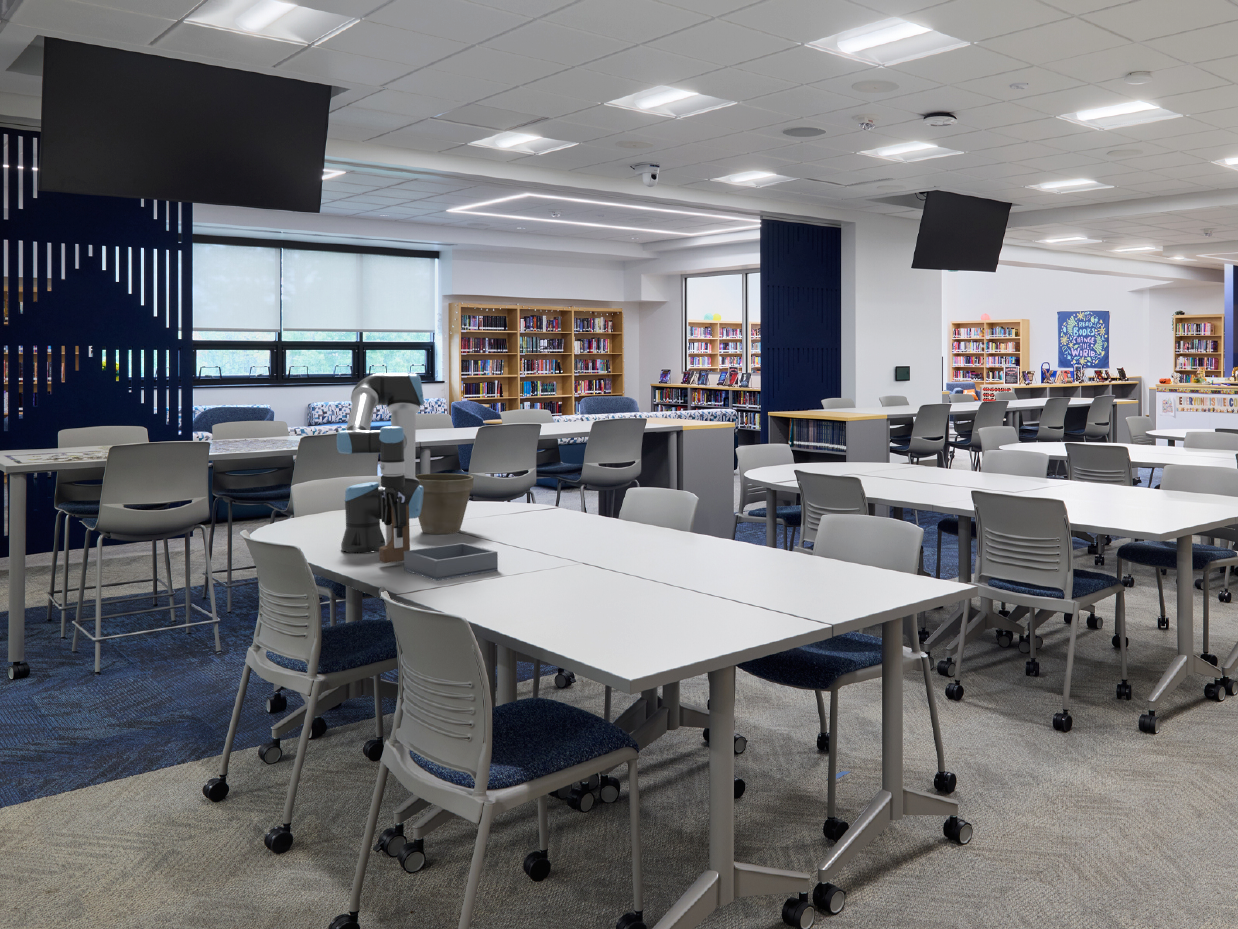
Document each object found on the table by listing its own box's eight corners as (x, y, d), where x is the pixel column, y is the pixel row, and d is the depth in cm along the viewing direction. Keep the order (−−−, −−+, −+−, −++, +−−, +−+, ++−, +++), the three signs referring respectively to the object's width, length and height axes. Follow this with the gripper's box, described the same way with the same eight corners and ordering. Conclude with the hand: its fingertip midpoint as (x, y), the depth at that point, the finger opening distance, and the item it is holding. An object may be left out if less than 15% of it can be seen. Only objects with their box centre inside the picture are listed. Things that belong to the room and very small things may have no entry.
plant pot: (482, 527, 383) (482, 473, 381) (461, 538, 359) (460, 480, 357) (424, 525, 388) (423, 472, 385) (399, 535, 364) (397, 479, 361)
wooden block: (384, 563, 305) (382, 507, 303) (378, 560, 309) (377, 505, 307) (410, 560, 310) (409, 505, 308) (405, 557, 314) (403, 503, 312)
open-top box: (404, 570, 303) (403, 551, 302) (463, 560, 317) (463, 542, 317) (436, 580, 288) (436, 561, 287) (497, 570, 302) (497, 551, 302)
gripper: (369, 472, 311) (370, 543, 313) (395, 478, 297) (397, 552, 300) (389, 471, 315) (391, 540, 318) (417, 476, 302) (418, 548, 305)
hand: (394, 546), depth 309 cm, fingers closed on wooden block, 5 cm apart
